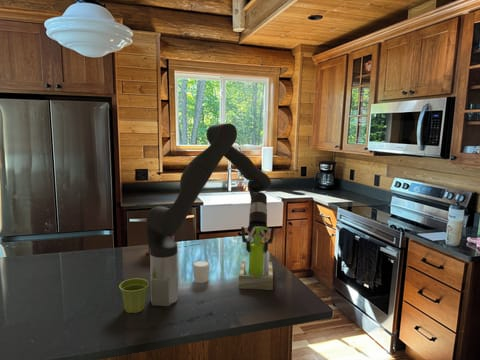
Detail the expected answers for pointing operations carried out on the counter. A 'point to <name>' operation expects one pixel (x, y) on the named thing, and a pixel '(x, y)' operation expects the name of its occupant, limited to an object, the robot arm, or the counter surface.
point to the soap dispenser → (256, 253)
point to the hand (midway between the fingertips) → (257, 251)
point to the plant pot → (134, 294)
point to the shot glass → (201, 271)
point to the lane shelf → (256, 279)
